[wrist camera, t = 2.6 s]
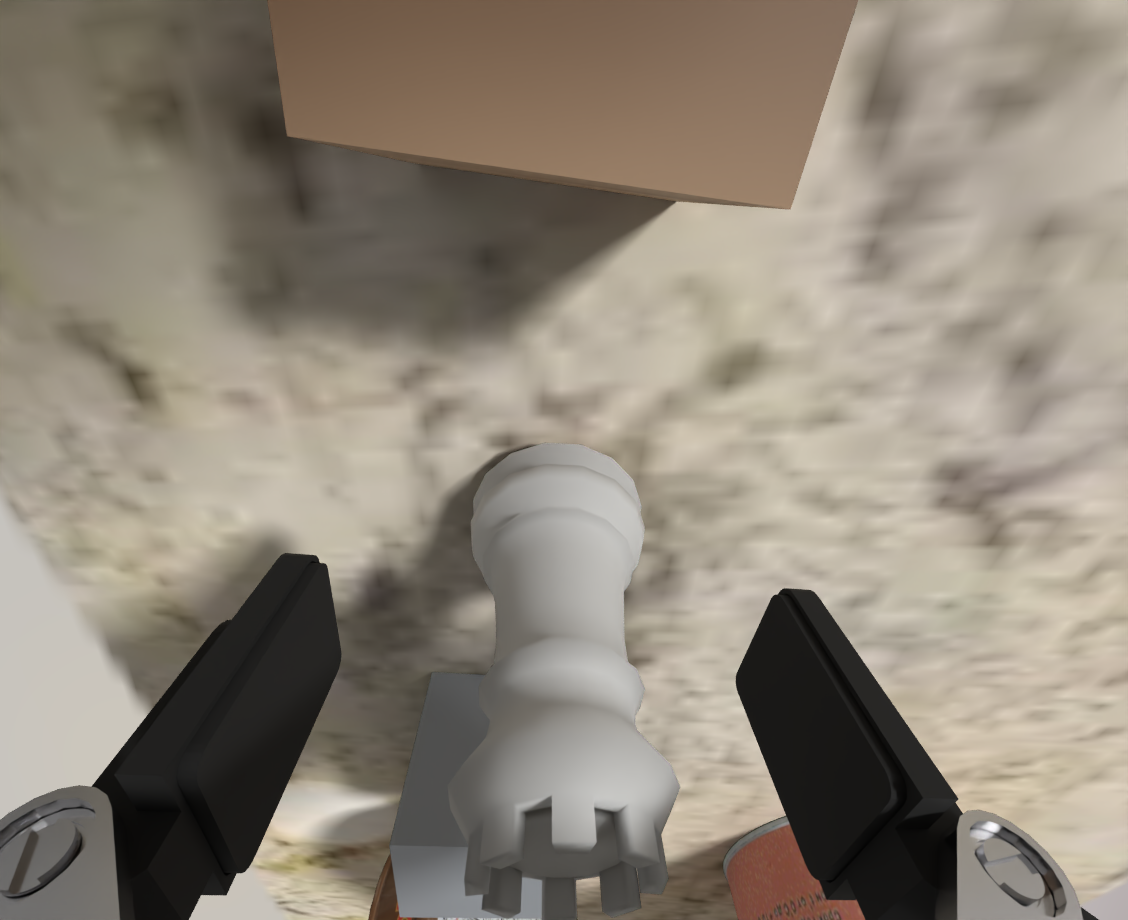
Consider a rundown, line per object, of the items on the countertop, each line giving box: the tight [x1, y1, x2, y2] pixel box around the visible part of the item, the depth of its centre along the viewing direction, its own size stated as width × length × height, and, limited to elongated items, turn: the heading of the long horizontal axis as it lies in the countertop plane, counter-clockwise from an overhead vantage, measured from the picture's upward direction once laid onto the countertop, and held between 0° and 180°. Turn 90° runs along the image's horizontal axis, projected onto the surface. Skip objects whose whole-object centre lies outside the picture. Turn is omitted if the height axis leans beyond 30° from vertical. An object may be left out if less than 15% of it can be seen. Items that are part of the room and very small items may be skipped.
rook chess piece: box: [448, 443, 680, 920], centre depth 9 cm, size 4×4×8 cm
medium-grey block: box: [389, 672, 542, 919], centre depth 15 cm, size 5×5×5 cm
